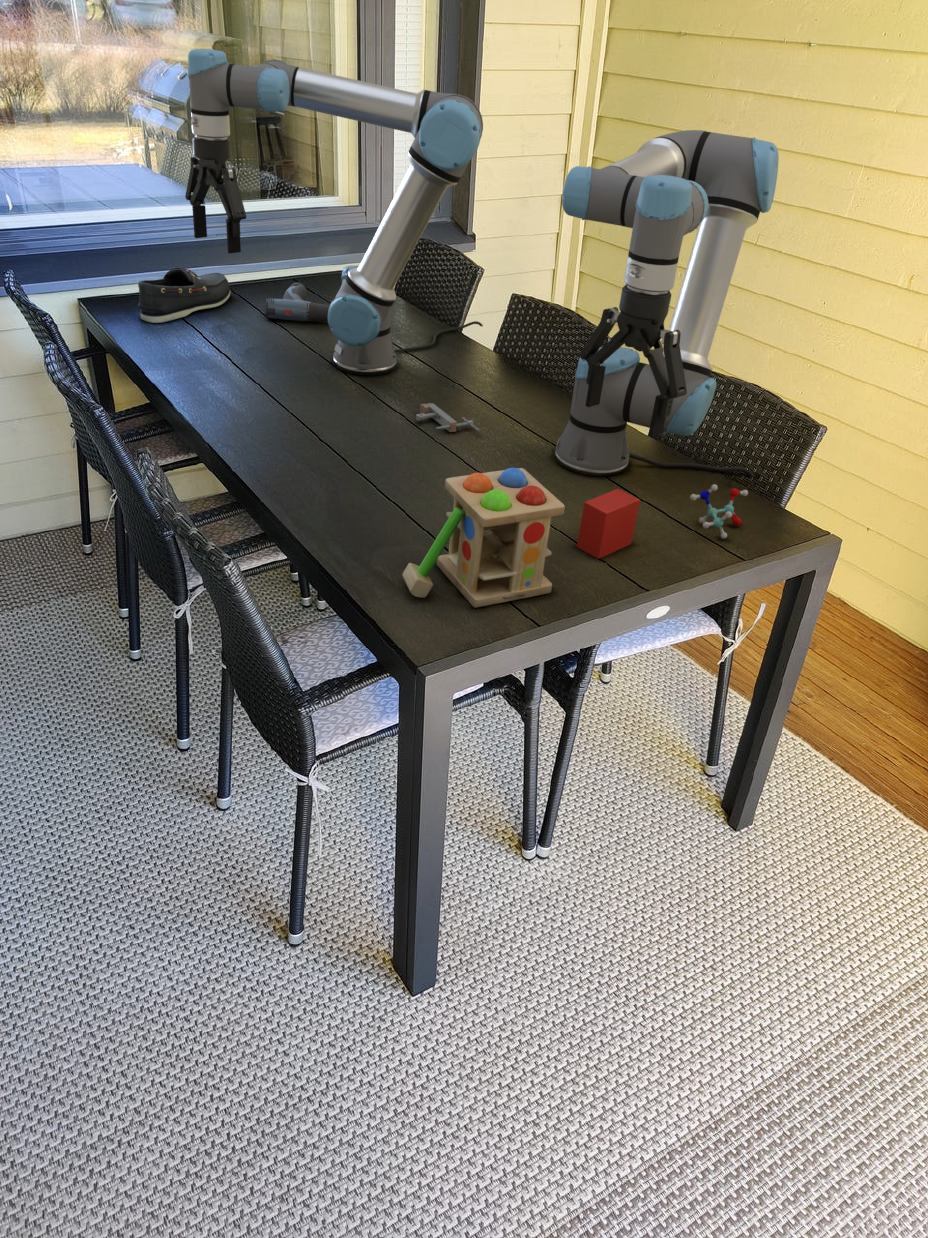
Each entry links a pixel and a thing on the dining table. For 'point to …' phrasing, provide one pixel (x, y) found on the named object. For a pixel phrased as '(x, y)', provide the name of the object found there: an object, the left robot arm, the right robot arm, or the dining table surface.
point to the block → (608, 523)
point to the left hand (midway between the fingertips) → (217, 244)
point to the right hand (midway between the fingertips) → (623, 419)
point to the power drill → (295, 306)
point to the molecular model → (713, 512)
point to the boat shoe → (180, 294)
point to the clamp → (442, 418)
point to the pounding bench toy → (492, 538)
